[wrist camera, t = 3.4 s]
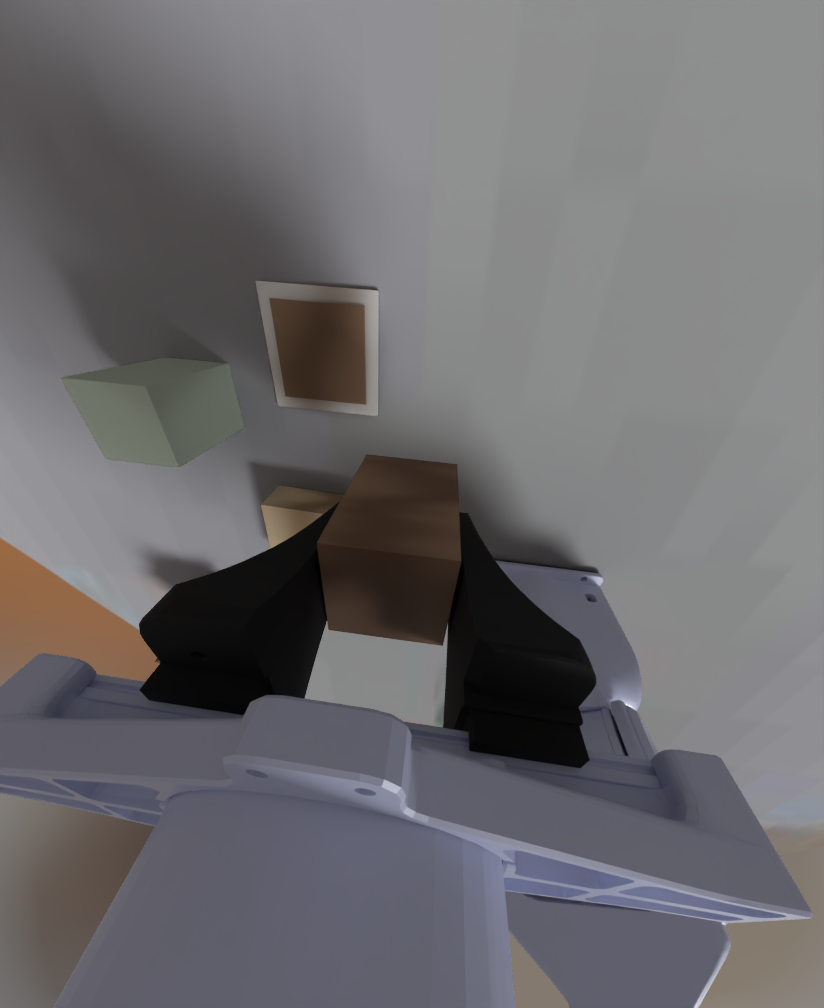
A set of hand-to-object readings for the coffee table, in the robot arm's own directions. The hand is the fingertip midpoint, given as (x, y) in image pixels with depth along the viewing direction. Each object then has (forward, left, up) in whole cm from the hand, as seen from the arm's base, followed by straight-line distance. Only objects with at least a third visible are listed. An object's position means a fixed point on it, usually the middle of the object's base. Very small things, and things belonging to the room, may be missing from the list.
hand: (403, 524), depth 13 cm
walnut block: (0, 0, -2) cm, 2 cm away
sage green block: (+14, -2, -8) cm, 16 cm away
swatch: (+6, -5, -8) cm, 11 cm away
